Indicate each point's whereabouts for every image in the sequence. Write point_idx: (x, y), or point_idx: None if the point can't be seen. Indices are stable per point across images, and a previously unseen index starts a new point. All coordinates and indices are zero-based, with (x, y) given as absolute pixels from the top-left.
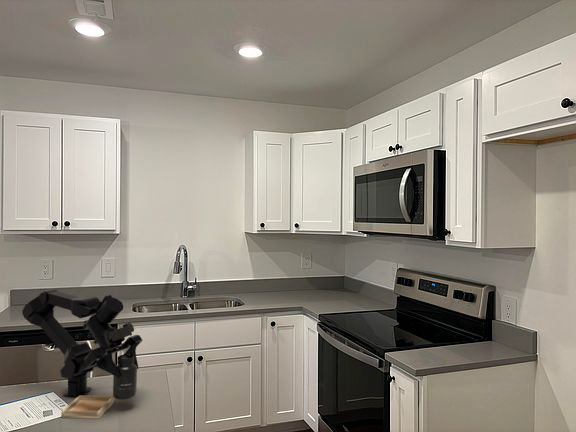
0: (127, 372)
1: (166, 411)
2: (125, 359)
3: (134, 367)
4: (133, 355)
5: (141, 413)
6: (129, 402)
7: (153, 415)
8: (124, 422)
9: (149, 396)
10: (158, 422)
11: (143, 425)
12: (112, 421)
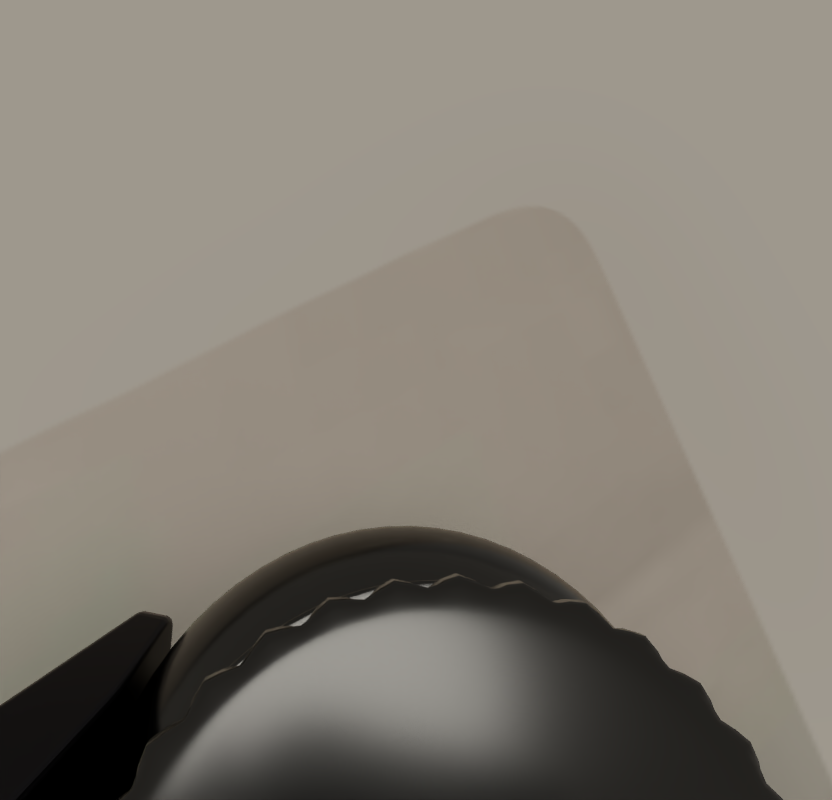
0: (596, 609)
1: (354, 294)
2: (744, 754)
3: (403, 546)
4: (170, 728)
5: (446, 468)
6: None
7: (447, 357)
8: (630, 518)
9: (68, 598)
10: (532, 275)
11: (610, 352)
12: (658, 632)
